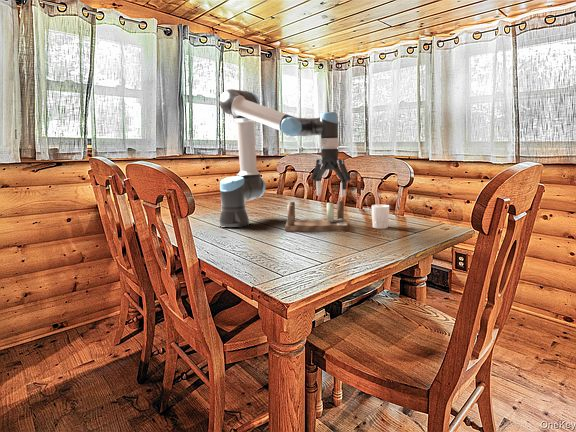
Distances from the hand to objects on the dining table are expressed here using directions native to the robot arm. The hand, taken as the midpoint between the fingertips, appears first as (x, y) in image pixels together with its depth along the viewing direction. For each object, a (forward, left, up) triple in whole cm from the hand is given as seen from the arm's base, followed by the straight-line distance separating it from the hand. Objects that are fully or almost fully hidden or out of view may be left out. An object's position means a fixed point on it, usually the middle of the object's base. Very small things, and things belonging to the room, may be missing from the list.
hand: (330, 196), depth 172 cm
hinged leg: (+1, +2, -12) cm, 12 cm away
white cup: (+20, +11, -15) cm, 27 cm away
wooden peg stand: (-7, -1, -15) cm, 16 cm away
